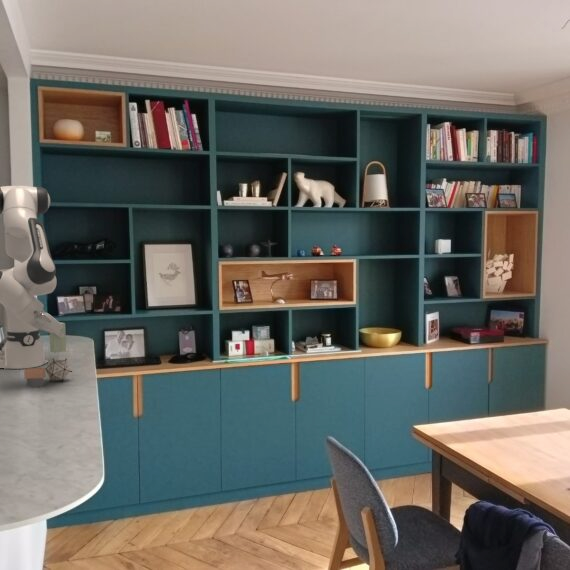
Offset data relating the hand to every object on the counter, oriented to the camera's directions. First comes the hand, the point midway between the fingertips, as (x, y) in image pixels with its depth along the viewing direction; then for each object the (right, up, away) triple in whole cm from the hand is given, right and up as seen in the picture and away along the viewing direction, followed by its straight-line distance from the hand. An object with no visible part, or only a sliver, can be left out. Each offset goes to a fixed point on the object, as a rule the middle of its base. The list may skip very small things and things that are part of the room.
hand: (59, 336), depth 204 cm
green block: (0, -5, 0) cm, 5 cm away
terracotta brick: (-6, -14, -6) cm, 16 cm away
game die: (-1, -16, +1) cm, 16 cm away
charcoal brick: (-6, -17, -6) cm, 19 cm away
